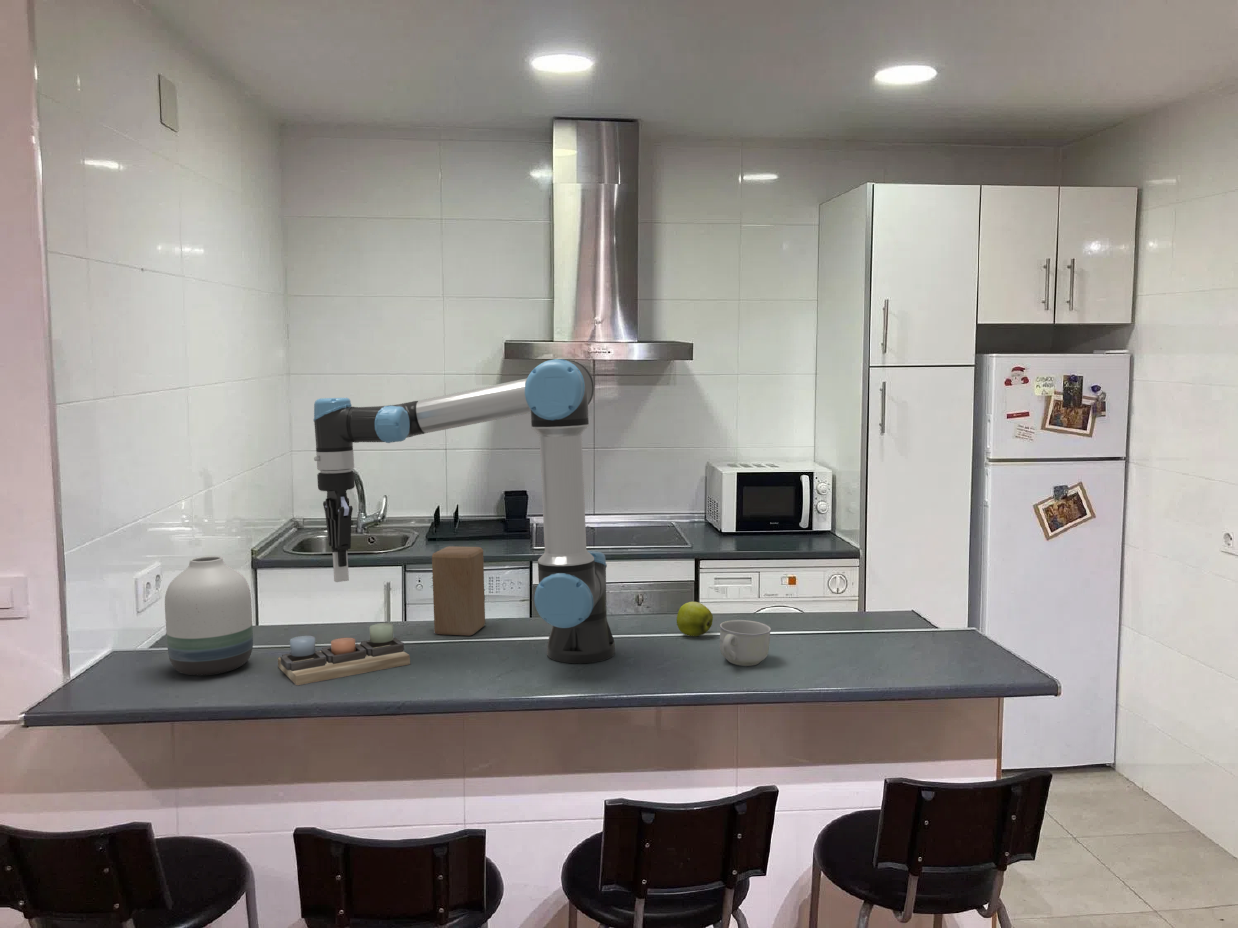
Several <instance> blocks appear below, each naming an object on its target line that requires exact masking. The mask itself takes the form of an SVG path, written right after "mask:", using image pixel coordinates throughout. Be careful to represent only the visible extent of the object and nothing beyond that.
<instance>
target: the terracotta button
mask: <svg viewBox="0 0 1238 928" xmlns="http://www.w3.org/2000/svg"><path fill="white" fill-rule="evenodd" d="M355 644H356V639H355V638H353V637H340V638H339V637H338V638H334V639H333V640H331V641H330V647H331V653H332V654H334V655H338V654H344V653H350V652H356V648H355Z"/></svg>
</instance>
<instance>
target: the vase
mask: <svg viewBox="0 0 1238 928" xmlns="http://www.w3.org/2000/svg"><path fill="white" fill-rule="evenodd" d="M251 595H252V594H251V589H250V585H249V583H248V580H247V579H246V577H244V575H243V574H241V573H240V572H239V571H238V570H237V569H235V568H233V567H231V566H229V565H227V564H226V563H225V562H224V559H223V557H222V556H219V555H205V556H198V557H194V558H191V559H190V560H189V564H188V566H187V567H186V568H185V569H183V571H181V572H180V573H179V574H177V575H176V577H174V578H173V579H172V580H171V582H170V583H169V584H168V586H167V588H166V592H165V595H164V614H165V633H166V645H167V655H168V658H169V661H170V664H171V666H172V667H173V669H175V670H176V671H177V672H179V673H182V674H184V675H189V676H212V675H219V674H224V673H228V672H231V671H234V670H236V669H239V668H240V667H242V666H244V665H245V664H246V663H247V662H248V661H249V659H250V658H251V655H252V652H253V647H254V634H253V633H254V630H253V611H252V610H253V609H252V608H253V607H252V596H251Z"/></svg>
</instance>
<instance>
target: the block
mask: <svg viewBox="0 0 1238 928" xmlns="http://www.w3.org/2000/svg"><path fill="white" fill-rule="evenodd" d="M484 565H485V564H484V549H483V548H482V547H480V546H456V545H455V546H452V545H451V546H450V545H449V546H445V547H443V548H442V549H441V548H440V550H438V551H435V552H433V553H432V555H431V568H432V569H431V570H432V573H431V574H432V593H433V594H432V596H433V597H432V598H433V623H434V624H433V627H434V628H433V631H434V633H435V635H436V634H437V635H445V636H447V635H448V636H466V637H468V636H473V635H475V634H476V633H477V632H478V631H480V630H481V629H482V628H483V627H485V625H486V606H485V605H486V602H485V600H486V599H485V570H484Z"/></svg>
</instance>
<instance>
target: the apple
mask: <svg viewBox="0 0 1238 928" xmlns="http://www.w3.org/2000/svg"><path fill="white" fill-rule="evenodd" d="M713 620H714V616H713V613H712V611H711V610H710V609H709V608H708V607H706V605H704V604H703V603H702V602H698V601H689V602H686V603H684V604H683V605H681V606H680V607H679V609H678V611H677V614H676V625H677V628H678V630H679V631H680V632H681V633H682V634H683V635H686V636H688V637H699V636H703V635H705V634H706V633H707V632H709V630H710V629H711V627H712V626H713Z"/></svg>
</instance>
